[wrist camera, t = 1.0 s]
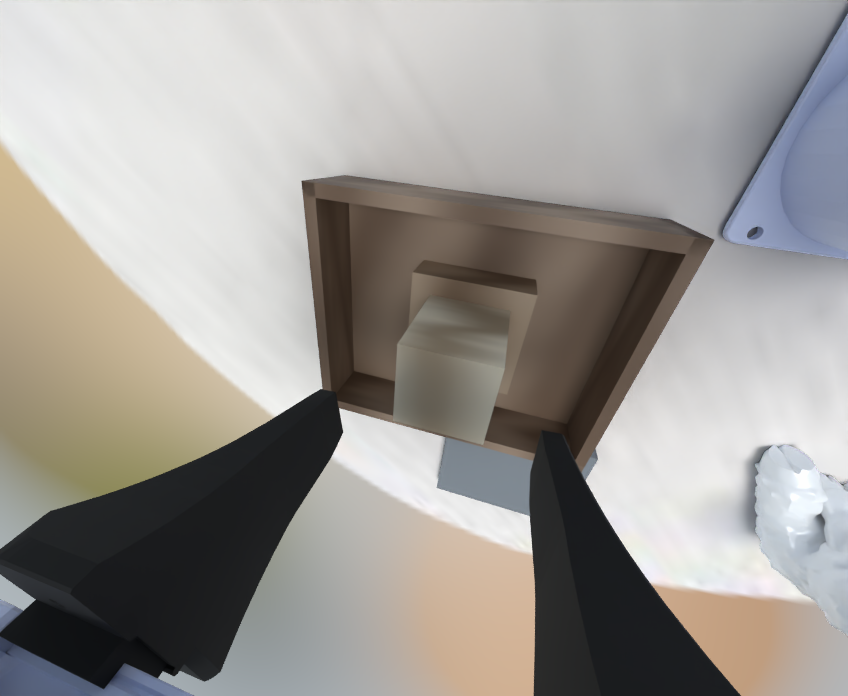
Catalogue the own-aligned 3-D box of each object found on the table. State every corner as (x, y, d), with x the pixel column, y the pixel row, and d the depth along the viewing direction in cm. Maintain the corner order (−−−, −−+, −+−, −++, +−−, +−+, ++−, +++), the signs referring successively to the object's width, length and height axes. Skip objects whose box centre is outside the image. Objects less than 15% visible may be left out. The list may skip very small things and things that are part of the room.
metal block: (510, 310, 15) (504, 368, 11) (492, 376, 18) (482, 445, 13) (430, 294, 16) (397, 343, 12) (422, 359, 18) (392, 420, 14)
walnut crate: (671, 220, 14) (714, 239, 11) (572, 424, 21) (580, 474, 18) (344, 175, 17) (301, 180, 14) (351, 369, 24) (324, 403, 21)
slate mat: (595, 447, 22) (597, 459, 21) (557, 513, 26) (558, 524, 25) (452, 410, 24) (449, 420, 23) (439, 477, 28) (436, 487, 27)
